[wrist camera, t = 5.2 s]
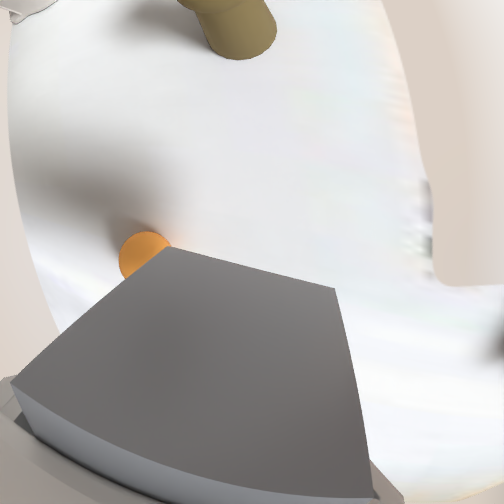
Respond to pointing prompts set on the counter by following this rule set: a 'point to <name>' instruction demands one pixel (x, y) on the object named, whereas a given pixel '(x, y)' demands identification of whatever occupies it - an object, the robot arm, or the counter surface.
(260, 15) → the cork
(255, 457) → the block
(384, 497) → the robot arm
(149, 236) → the ball
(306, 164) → the counter surface
